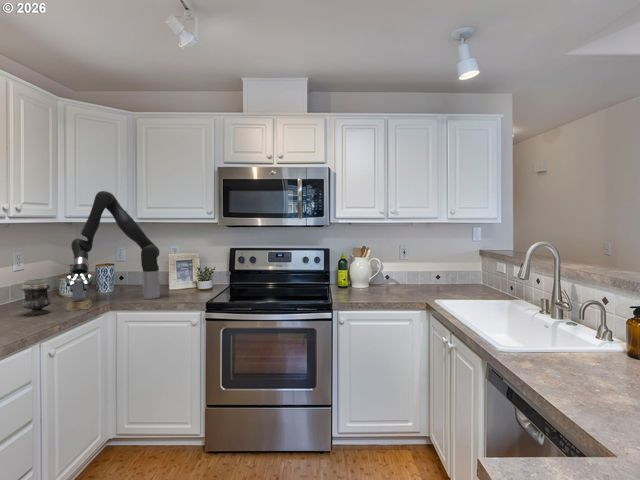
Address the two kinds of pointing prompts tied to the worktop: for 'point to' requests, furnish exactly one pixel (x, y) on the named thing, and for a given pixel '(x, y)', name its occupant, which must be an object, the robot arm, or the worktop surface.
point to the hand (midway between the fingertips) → (78, 290)
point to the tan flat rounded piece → (79, 304)
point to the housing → (78, 289)
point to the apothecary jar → (36, 296)
